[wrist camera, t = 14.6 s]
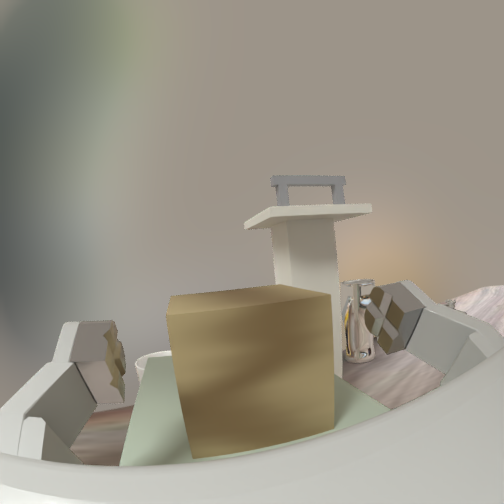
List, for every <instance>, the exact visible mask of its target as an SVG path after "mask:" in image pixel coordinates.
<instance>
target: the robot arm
mask: <svg viewBox="0 0 504 504" xmlns="http://www.w3.org/2000/svg"><path fill="white" fill-rule="evenodd" d="M369 298H370V300H371V302H370V304H369V305H368V306H367V307H366V310H365V314H364V320H365V325H366V327H367V329H368V331H369V332H370V333H371V334H373V335H375V336H377V342H378V344H379V345H380V346H381V347H382V349H383V350H384V351H385V353H386V354H387V355H388V354H391V353H394V352H397V351H400V350H404V349H406V351H408V352H410V353H411V354H413V355H415V356H416V357H418V358H419V359H421V360H423V361H424V362H426V363H428V364H429V365H431V366H433V367H434V368H436V369H438V370H439V371H441V372H442V373H444V374H445V376H444V378H443V379H442V381H441V382H440V387H438V388H436V389H434V390H432V391H430V392H428V393H426V394H424V395H422V396H420V397H418V398H416V399H414V400H412V401H410V402H408V403H405V404H403V405H401V406H399V407H397V408H394V409H392V410H390V411H387V412H385V413H383V414H380V415H378V416H375V417H373V418H370V419H368V420H365V421H363V422H360V423H357V424H355V425H352V426H349V427H346V428H343V429H341V430H338V431H335V432H332V433H329V434H325V435H322V436H319V437H316V438H312V439H309V440H305V441H302V442H298V443H294V444H291V445H287V446H283V447H279V448H275V449H270V450H266V451H261V452H256V453H251V454H246V455H241V456H235V457H229V458H223V459H216V460H209V461H201V462H192V463H182V464H170V465H153V466H98V465H84V463H83V462H82V461H81V460H80V459H79V458H78V457H77V456H76V455H75V454H74V453H73V452H72V451H71V450H70V447H71V446H72V444H73V442H74V441H75V439H76V438H77V436H78V435H79V433H80V432H81V430H82V428H83V427H84V425H85V424H86V422H87V421H88V419H89V418H90V416H91V415H92V413H93V412H94V410H95V409H96V407H97V404H113V403H114V404H115V403H124V394H125V384H124V381H123V379H122V376H123V375H124V374H125V369H126V364H125V355H124V350H123V346H122V343H121V342H120V341H119V340H118V339H117V331H118V330H117V328H116V325H115V322H114V321H112V320H107V321H82V322H66V323H65V324H64V325H63V327H62V330H61V333H60V337H59V340H58V343H57V347H56V350H55V354H54V357H53V361H52V363H47V364H46V365H45V366H43V368H41V369H40V371H38V372H37V373H36V374H35V375H34V376H33V377H32V378H31V379H30V380H29V381H28V382H27V383H26V384H25V385H24V386H23V387H22V388H21V389H20V390H19V391H18V392H17V393H16V394H15V395H14V396H13V397H12V398H11V399H10V400H9V401H8V402H7V403H6V404H5V405H4V406H3V407H2V408H1V409H0V504H504V338H503V337H502V336H501V335H500V334H499V333H498V332H497V331H496V330H495V329H494V328H493V327H492V326H491V325H490V324H489V323H486V322H484V321H482V320H479V319H477V318H474V317H472V316H469V315H467V314H464V313H462V312H459V311H457V310H454V309H452V308H449V307H447V306H444V305H442V304H436V303H434V301H432V300H431V299H430V298H429V297H428V296H427V295H426V294H425V293H424V292H423V291H422V290H421V289H420V288H418V287H417V286H416V285H415V284H414V283H413V282H412V281H409V280H404V281H400V282H396V283H392V284H387V285H382V286H377V287H374V288H373V289H372V291H371V293H370V296H369Z"/></svg>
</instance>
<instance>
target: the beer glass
mask: <svg viewBox="0 0 504 504" xmlns="http://www.w3.org/2000/svg"><path fill="white" fill-rule="evenodd" d="M374 287H375V280H373V279H358V280H350V281H344V282H341V291H340V292H341V293H340V304H341V314H342V320H343V325H344V329H345V334H346V341H347V347H346V353H345V360H346V361H348V362H350V363H365V362H369V361H372V360H373V359H374V358H375V351H374V344H373V334H371V333H370V332H369V331H368V329H367V327H366V325H365V320H364V314H365V310H366V307H367V306H368V305H369V304H370V302H371V300H370V298H369V296H370V293H371V291H372V289H373V288H374Z"/></svg>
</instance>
